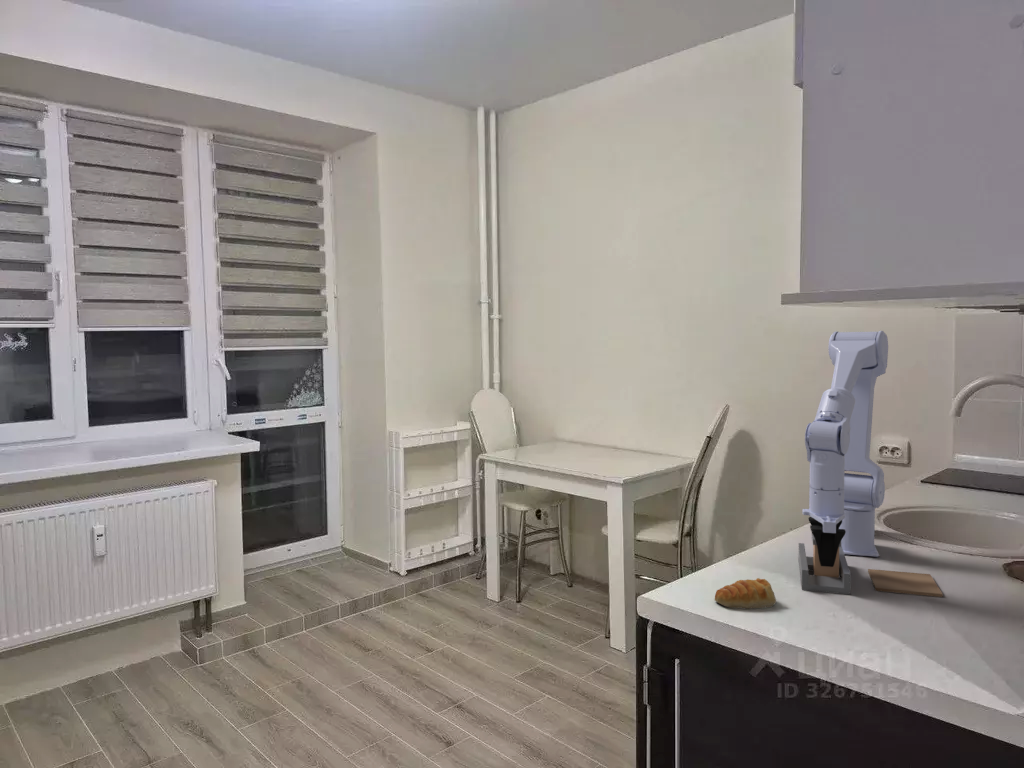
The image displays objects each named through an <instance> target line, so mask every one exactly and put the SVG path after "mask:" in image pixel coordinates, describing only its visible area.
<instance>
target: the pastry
mask: <svg viewBox="0 0 1024 768" xmlns="http://www.w3.org/2000/svg"><path fill="white" fill-rule="evenodd" d="M775 595H776V594H775V592H774V591H773V587H772V585H771V583H770V582H769V581H768V580H767V579H765V578H760V577H758V578H756V579H738V580H736V581H735V582H733V583H731V584H729V585H728V584H727V585H724V586H723V587H721V588H719V589H716V591H715V593H714V601H715V602H716V603H718V604H719V605H722V606H724V607H727V608H729V609H733V608H734V609H735V608H736V609H744V608H745V610H749V609H764V608H765V607H766V608H771V606H772V607H774V606H773V605H775V604H776V602H777V599H776V596H775Z"/></svg>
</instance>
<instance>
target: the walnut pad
mask: <svg viewBox="0 0 1024 768" xmlns="http://www.w3.org/2000/svg"><path fill="white" fill-rule="evenodd" d="M867 573H868V575H869V577H870V581H871V583H872V586H873V588H874V590H875V592H876V591H877V592H884V593H886V592H887V593H894V594H895V593H897V594H906V595H918V596H927V597H936V598H937V597H940V598H943V597H944V594H943V592H942V591H941V589H940V587H939V586H938V584H937V582H936V581H935V580H934V578H933V577H932V575H931V574H930V573H920V572H919V573H918V572H907V571H896V570H885V569H884V570H882V569H873V568H872V569H870V568H868V569H867Z"/></svg>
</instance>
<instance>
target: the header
mask: <svg viewBox="0 0 1024 768" xmlns="http://www.w3.org/2000/svg"><path fill="white" fill-rule="evenodd" d="M797 558H798V568H799V577H800V586H801V590H802V591H811V592H823V593H833V594H843V595H851V581H852V580H851V578H852V577H851V576H852V574H851V571H850V568H849V565H848V561H847V559H846V558H847V557H846V554H844V552H843V549H842V546H841V547H839V577H827V576H816V575H814V574H809V571H812V572H813V556H807V552H806V546H805V543H803V542H802V543H801V542H798V557H797Z"/></svg>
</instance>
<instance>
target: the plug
mask: <svg viewBox="0 0 1024 768" xmlns="http://www.w3.org/2000/svg"><path fill="white" fill-rule="evenodd" d="M811 541H812V546H813V547H812V550H813V554H812V557H813V571H812V572H813V575H816V576H827V577H839V547H841V542H840V544H839V547H838V551H837V555H836V560H835V563H834V566H833V567H828V566H821V564H820V561H819V555H818V549H817V544H816V540H815V538H814V536H813V534H812V533H811Z"/></svg>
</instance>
